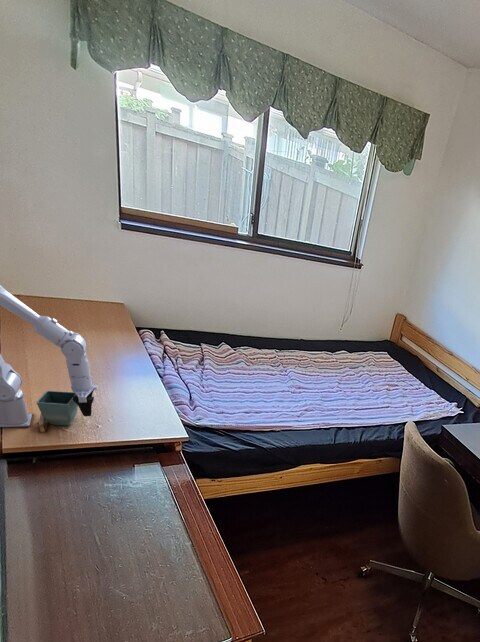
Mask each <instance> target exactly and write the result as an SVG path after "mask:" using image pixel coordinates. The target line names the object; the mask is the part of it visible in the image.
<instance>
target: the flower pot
mask: <svg viewBox="0 0 480 642" xmlns="http://www.w3.org/2000/svg"><path fill="white" fill-rule="evenodd" d="M73 396H77V395H76V394H75V393H74V392H73V391H58V390H45V392H43V394H42V395H41V396H40V397H39V399H38V400H37V401H36V405H37V407H38V410H39V411H40V415H41V414H42V415H43V417H44V418H45V419H46V420H47V421H48V424H51V425H53V426H71V424H72V422H74V420H75V418H76V416H77V414H78V409H79V406H78V405H77V404H76V403H75V402H74V401H73Z"/></svg>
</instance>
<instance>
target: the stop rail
mask: <svg viewBox="0 0 480 642" xmlns="http://www.w3.org/2000/svg"><path fill="white" fill-rule="evenodd" d="M48 424H49V422H48V421H47V420H46V419H45V418H44V417H43V415H42V414H41V413H40V415H39V421H38V428H39V431H40V433H45V432H47V428H48Z"/></svg>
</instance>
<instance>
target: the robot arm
mask: <svg viewBox="0 0 480 642" xmlns="http://www.w3.org/2000/svg"><path fill="white" fill-rule="evenodd" d="M0 307H2V308H4V309H5V310H7V311H8V312H11V313H12V314H13V315H15V316H17V317H19V318H20V319H22V320H24V321H25V322H27V323H28V324H30V325H32V327H33V330H34V332H35V333H37V334H38V335H39V336H41V337H42V338H43V339H45V340H47V341H49V342H50V343H51V344H53V345H54V346H56V347H58V348H60V352H61V354H63V356H64V357H65V362H66V367H67V372H68V377H69V381H70V389H71V392H74V393H75V394H76V395H77V396H73V401H74V402H75V403H76V404H77V405H78V409H79V410H80V413H81V415H82V416H83V417H92V412H93V411H92V408H93V407H92V405H93V402H94V400H95V396H93V393H94V391H96V390H98V385H97V384H93V380H92V374H91V370H90V364H89V359H88V356H87V355H88V354H87V352H86V348H87V342H86V339H85V338H84V337H83V336H82V335H81V334H80V333H78V332H74V331H72V330H68V329H67V328H65V326H63V325H61V324H60V323H58V320H57V319H55V318H54V317H53V318H51V317H49V316H48V315H47V316H46V315H39V314H38V313H37V312H36V311H34V310H33V309H32V308H30V307H29V306H27V305H26V303H24V302H23V301H22V300H20V299H18V298H17V297H16V296H14V295H13V294H11V293H10V292H9V291H7V289H5V288H4V287H3V286H2V285H1V284H0ZM22 384H23V378H22V376H21V374H19V373H18V372H17V371H15V370H14V368H13V367H12V365H11V364H9V363H7V362H6V361H5V359H4V358H3V356H2V354H1V353H0V428H15V427H16V428H19V427H23V428H24V427H30V426H31V422H32V417H33V413H31V412H28V408H27V404H26V400H25V396H24V392H23V391H22V389H21V386H22Z"/></svg>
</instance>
